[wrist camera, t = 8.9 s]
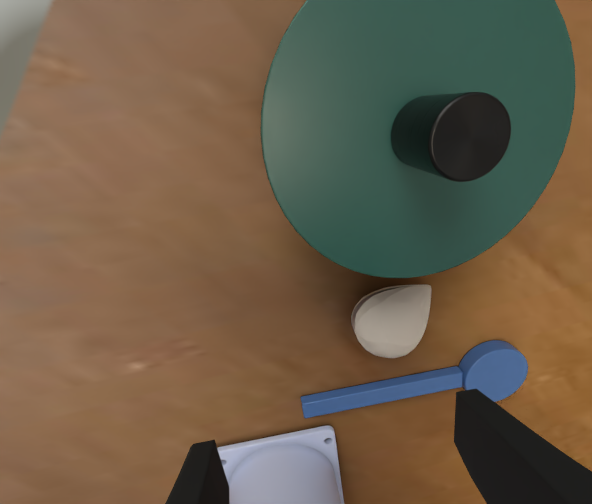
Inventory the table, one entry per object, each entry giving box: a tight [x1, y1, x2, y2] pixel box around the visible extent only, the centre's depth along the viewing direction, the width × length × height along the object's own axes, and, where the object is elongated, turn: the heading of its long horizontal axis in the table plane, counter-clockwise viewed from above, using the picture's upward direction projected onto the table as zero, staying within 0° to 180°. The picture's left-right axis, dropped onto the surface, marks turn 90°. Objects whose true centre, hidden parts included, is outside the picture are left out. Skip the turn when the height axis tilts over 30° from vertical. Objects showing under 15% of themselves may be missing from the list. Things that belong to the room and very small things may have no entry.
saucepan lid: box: [261, 0, 575, 278], centre depth 11 cm, size 10×10×4 cm
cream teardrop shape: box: [351, 285, 432, 358], centre depth 20 cm, size 4×5×2 cm
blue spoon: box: [301, 340, 528, 418], centre depth 23 cm, size 4×15×1 cm, turn 98°
